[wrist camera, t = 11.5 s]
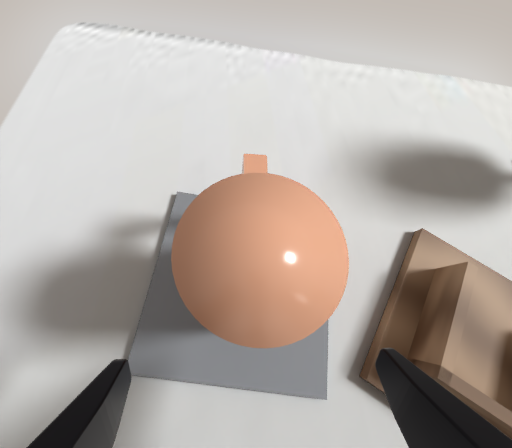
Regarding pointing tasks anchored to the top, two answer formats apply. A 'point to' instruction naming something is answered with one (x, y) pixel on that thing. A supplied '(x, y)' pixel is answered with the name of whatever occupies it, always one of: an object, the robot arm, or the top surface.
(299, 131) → the top surface
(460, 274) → the jug holder
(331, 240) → the jug
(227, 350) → the slate mat
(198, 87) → the top surface
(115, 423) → the robot arm
